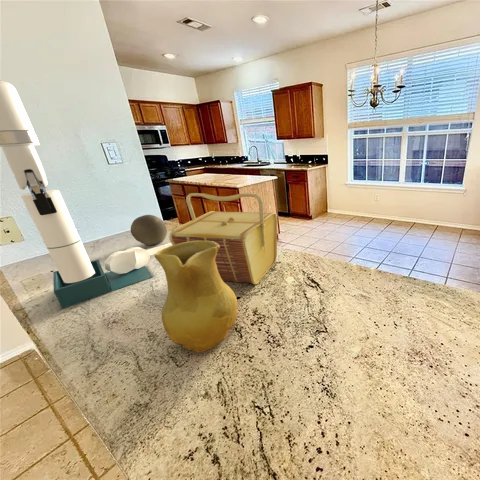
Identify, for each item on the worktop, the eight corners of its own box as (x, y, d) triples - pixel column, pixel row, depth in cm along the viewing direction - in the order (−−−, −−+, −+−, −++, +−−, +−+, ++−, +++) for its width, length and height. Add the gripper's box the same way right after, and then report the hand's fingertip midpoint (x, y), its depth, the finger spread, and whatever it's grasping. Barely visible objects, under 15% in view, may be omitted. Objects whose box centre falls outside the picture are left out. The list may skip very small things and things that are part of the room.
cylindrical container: (91, 268, 82) (56, 188, 72) (97, 275, 78) (61, 191, 68) (61, 278, 77) (19, 194, 67) (66, 285, 73) (22, 197, 63)
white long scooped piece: (199, 247, 129) (193, 246, 130) (197, 232, 126) (191, 231, 128) (113, 278, 96) (107, 276, 97) (108, 257, 93) (102, 255, 95)
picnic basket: (180, 286, 92) (155, 202, 80) (222, 254, 115) (207, 185, 103) (256, 294, 85) (241, 204, 73) (284, 258, 108) (276, 185, 96)
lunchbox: (63, 310, 82) (53, 291, 80) (62, 288, 94) (53, 271, 92) (153, 278, 98) (147, 261, 96) (142, 263, 110) (137, 248, 107)
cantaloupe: (144, 241, 134) (135, 212, 128) (174, 238, 136) (166, 210, 130) (131, 252, 121) (120, 222, 115) (164, 249, 123) (155, 218, 118)
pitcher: (152, 360, 61) (124, 263, 53) (198, 312, 79) (182, 233, 70) (221, 367, 59) (203, 267, 50) (252, 317, 76) (243, 235, 68)
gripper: (-3, 141, 66) (30, 208, 73) (-15, 140, 55) (27, 221, 62) (38, 139, 71) (66, 203, 78) (36, 138, 59) (69, 213, 66)
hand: (48, 210), depth 70 cm, fingers closed on cylindrical container, 7 cm apart
